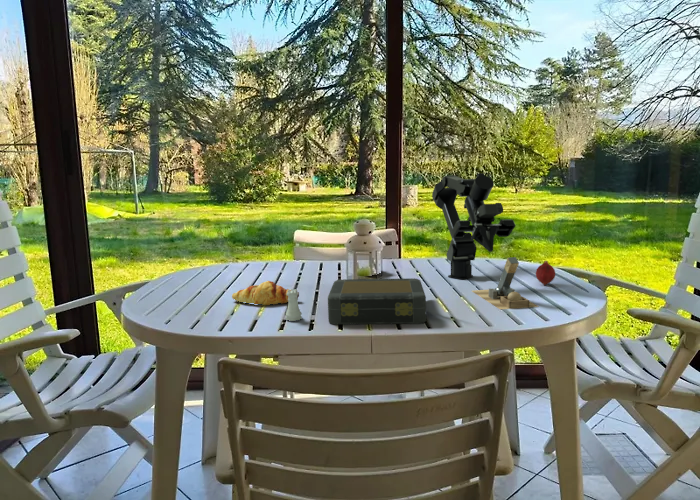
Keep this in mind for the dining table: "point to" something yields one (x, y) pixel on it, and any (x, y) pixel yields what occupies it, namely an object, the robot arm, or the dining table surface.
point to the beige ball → (514, 296)
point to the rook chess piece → (293, 306)
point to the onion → (545, 273)
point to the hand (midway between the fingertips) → (491, 251)
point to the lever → (507, 277)
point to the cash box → (377, 301)
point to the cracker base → (503, 300)
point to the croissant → (263, 294)
